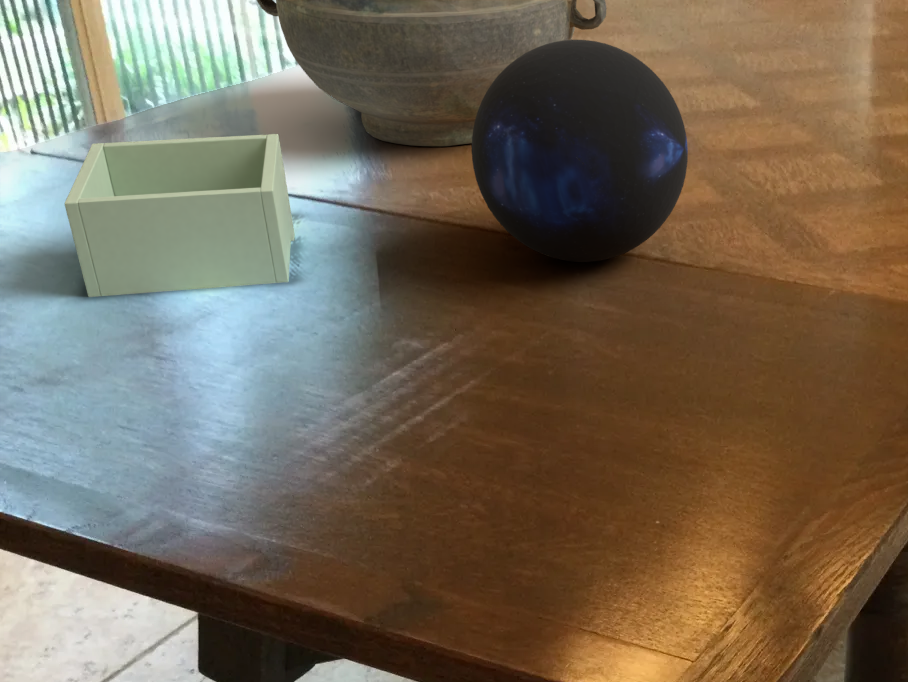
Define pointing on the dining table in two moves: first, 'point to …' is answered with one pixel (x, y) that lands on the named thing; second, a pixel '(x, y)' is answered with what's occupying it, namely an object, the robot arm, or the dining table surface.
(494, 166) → the decorative sphere
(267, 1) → the bowl
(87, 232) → the green open box
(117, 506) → the dining table surface
